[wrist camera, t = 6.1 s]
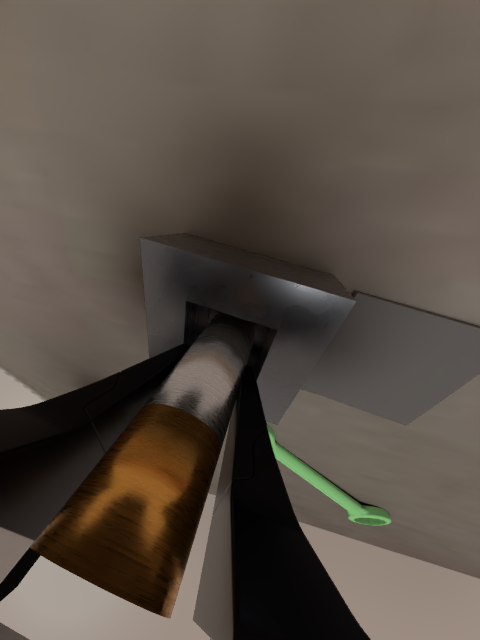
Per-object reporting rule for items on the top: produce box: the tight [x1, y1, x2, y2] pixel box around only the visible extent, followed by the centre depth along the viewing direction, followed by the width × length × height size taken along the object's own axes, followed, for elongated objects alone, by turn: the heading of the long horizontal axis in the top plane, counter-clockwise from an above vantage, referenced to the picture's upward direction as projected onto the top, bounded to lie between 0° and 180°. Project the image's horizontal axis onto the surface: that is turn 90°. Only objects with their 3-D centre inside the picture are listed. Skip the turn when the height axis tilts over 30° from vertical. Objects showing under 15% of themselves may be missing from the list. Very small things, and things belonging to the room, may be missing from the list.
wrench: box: [267, 425, 391, 525], centre depth 22 cm, size 25×2×5 cm
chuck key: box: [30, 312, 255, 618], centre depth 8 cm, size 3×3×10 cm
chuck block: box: [140, 233, 356, 425], centre depth 12 cm, size 10×10×4 cm
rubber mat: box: [301, 291, 480, 425], centre depth 12 cm, size 9×9×1 cm
